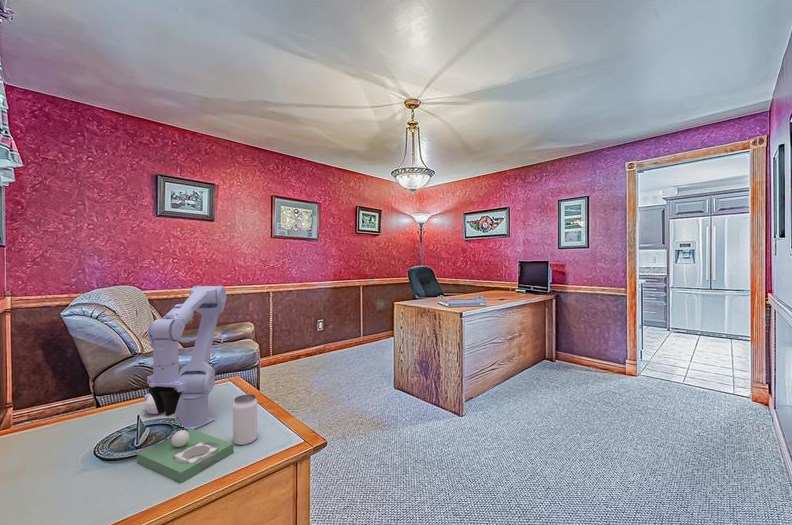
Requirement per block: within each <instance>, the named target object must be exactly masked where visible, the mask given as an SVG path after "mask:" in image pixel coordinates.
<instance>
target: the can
mask: <svg viewBox="0 0 792 525" xmlns="http://www.w3.org/2000/svg"><path fill="white" fill-rule="evenodd" d="M256 398H257V397H256V395H255V394H252V393H250V394H242V395H239V396H236V397H235V398H234V399H233V404H232V443H233V444H234V445H237V446H245V445H246V446H247V445H250V444H252V443H254V442H255V441H256V440H257V438H258V435H259V434H258V428H259V427H258V400H257V399H256Z"/></svg>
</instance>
